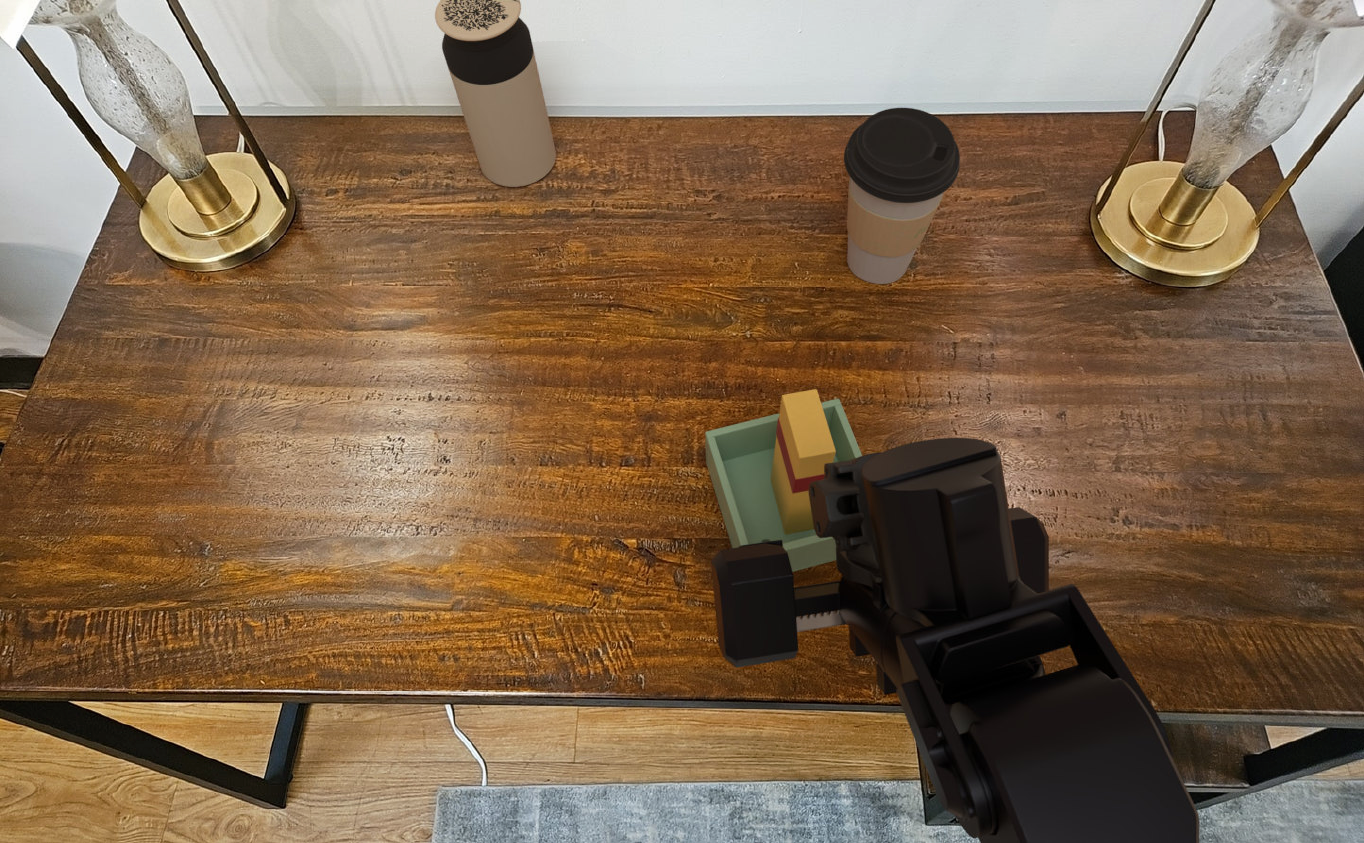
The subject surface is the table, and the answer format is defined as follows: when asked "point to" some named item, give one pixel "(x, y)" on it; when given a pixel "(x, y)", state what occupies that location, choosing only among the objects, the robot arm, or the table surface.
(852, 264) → the coffee cup
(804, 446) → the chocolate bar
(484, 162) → the travel mug
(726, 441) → the green open square box
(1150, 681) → the table surface
